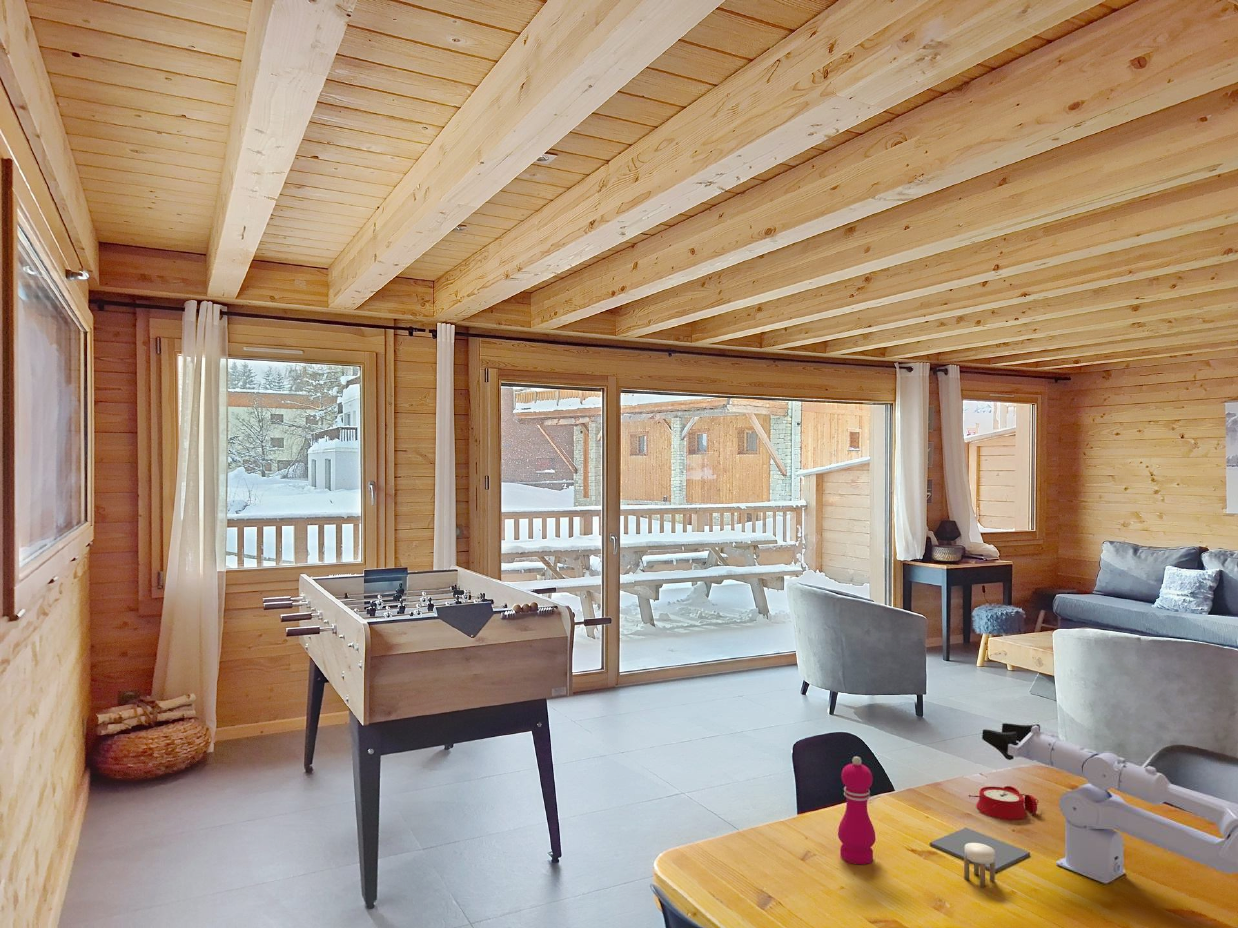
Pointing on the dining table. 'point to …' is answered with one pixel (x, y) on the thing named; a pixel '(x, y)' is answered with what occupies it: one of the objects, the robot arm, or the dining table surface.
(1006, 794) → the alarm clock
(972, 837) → the mat
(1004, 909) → the dining table surface
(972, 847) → the stool
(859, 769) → the pepper mill
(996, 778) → the dining table surface
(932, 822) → the dining table surface
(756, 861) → the dining table surface
